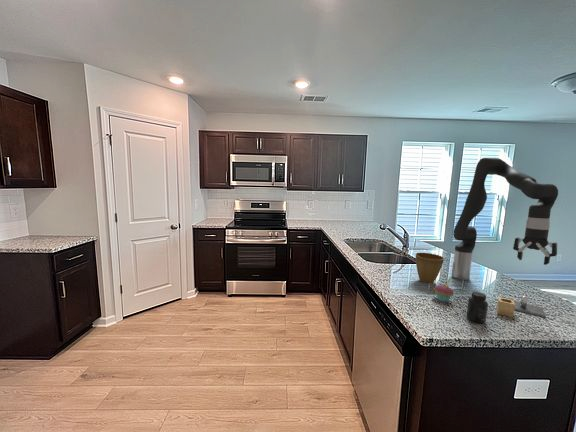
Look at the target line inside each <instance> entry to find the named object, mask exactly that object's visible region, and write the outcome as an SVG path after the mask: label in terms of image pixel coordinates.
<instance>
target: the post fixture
mask: <svg viewBox="0 0 576 432" xmlns="http://www.w3.org/2000/svg"><path fill="white" fill-rule="evenodd" d="M520 297H521V298H520V301H515V300H514V303H515V308H514V311H517V312H521V313H525V314H529V315H533V316H537V317H541V318H546V317H547V314H546V312H545V310H544V309H543V307H542V306H539V305H534V304H529V303H528V298H529V297H528V296H526V295H521V296H520Z"/></svg>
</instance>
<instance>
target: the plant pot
mask: <svg viewBox="0 0 576 432" xmlns="http://www.w3.org/2000/svg"><path fill="white" fill-rule="evenodd" d="M444 260H445V257H444V256H441V255H439V254H435V253H430V252H416V253H415V264H416V271H417V275H418V279H419V281H420V282H421V283H424V284H428V285H431V284H434V283H435V281H436V280H437V277H438V276H439V273H440V272H441V270H442V268H443V264H444Z"/></svg>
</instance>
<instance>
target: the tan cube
mask: <svg viewBox="0 0 576 432" xmlns="http://www.w3.org/2000/svg"><path fill="white" fill-rule="evenodd" d="M514 301H515V300H514V299H508V298H505V297H502V296H498V298H497V305H496V314H498V315H502V316H506V317H510V318H514V314H515V310H514V308H515V303H514Z"/></svg>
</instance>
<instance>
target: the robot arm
mask: <svg viewBox="0 0 576 432" xmlns="http://www.w3.org/2000/svg"><path fill="white" fill-rule="evenodd" d="M474 170H475V171H474V175H473V178H472V182H471V186H470V188H469V189H470V190H469V191H468V195H467V197H466V200H465V202H464V206H463V208H462V211H461V214H460V216H459V218H458V220H457V223H456V224H455V226H454V227H453V235H452V236H453V238H454V239H455V240H456V241H461V242H460V243H458V244H455V246H454V254H453V261H452V267H451V268H452V269H451V277H452V278H456V279H458V280H465V281H467V280H470V278H471V268H472V260H473V253H474V249H475V246H476V241H477V235H478V233H477V229H476V228H475V227H474V226H472V225H470V223H472V222H471V221H473V219H475V217H476V216H478V215H479V214H480V213H481V212H482V210H483V209H484V208H485V205H486V203H487V199H488V194H487V191H486V188H485V187H486V186H485V185H486V184H485V183H486V179H487V176H488V175H489V176H490V175H491V176H492V175H493V176H494V175H496V176H500V177H502V178H505V180H506V183H508V184H509V185H511V186H512V187H514V188H516V189H518V190H520V191H521V192H522V193H523V195H525V196H526V198H529V199H532V200H537V202H536V203H535V204H531V205H530V206H529V208H528V214H527V219H526V222H525V223H526V224H525V231H524V237H523V238H520V237H515V239H514V242H513V247H512V249H513V250H514V251H516V252H517V256H516V258H517V259H518V260H519V261H522V260H523V257H524V256H523V255H524V252H523V251H525V250H526V249H529V250H536V251H541V252H542V253H543V255H544V260H543V265H545V266H546V265H548V264H550V262H551V261H550V259H551V257H556V256H557V255H558V242H549V240H548V237H549V232H550V227H551V225H550V224H551V222H550V217H551V212H552V208H553V207H554V205H555V203H556V200H557V199H558V197H559V189H558V187H557V185H555V184H553V183H538V181H537V180H536V178H534V177H532V176H530V175H528V174H526V173H524V172H521V171H520V170H517V169H515V168H514V167H513V166H511V165H510V164H508V163H507V162H506V161H504V160H502V159H501V158H498V157H482V158H480V159H479V160H478V162H477V164H476V166H475V169H474ZM522 242H523V244H524V245H523V246H522V247H520V248H519V246H520V243H522ZM547 246H549V247H550V248H551V253H550V251H549V250H548V249H547V248H546V247H547Z"/></svg>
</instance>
